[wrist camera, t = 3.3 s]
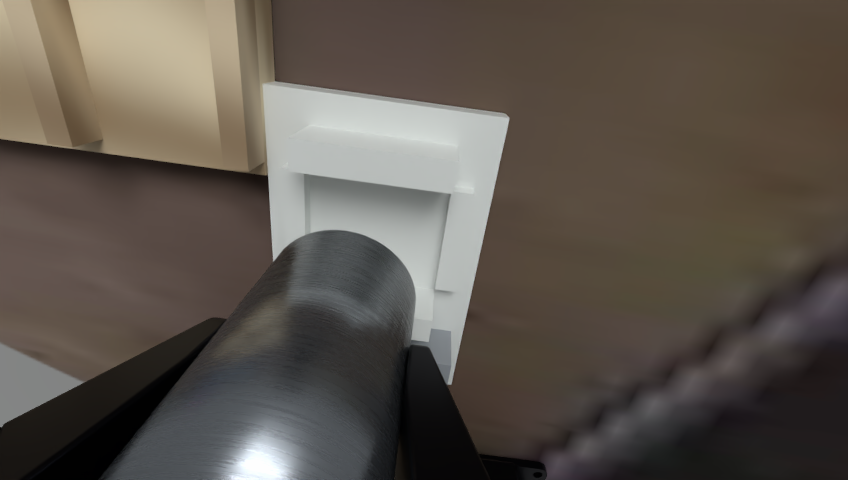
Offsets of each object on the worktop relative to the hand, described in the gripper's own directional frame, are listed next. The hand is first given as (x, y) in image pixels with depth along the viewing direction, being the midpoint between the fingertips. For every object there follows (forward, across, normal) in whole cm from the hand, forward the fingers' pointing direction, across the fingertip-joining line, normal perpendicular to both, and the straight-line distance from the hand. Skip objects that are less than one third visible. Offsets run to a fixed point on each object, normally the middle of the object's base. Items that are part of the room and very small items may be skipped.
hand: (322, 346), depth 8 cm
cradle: (+8, 0, +2) cm, 8 cm away
